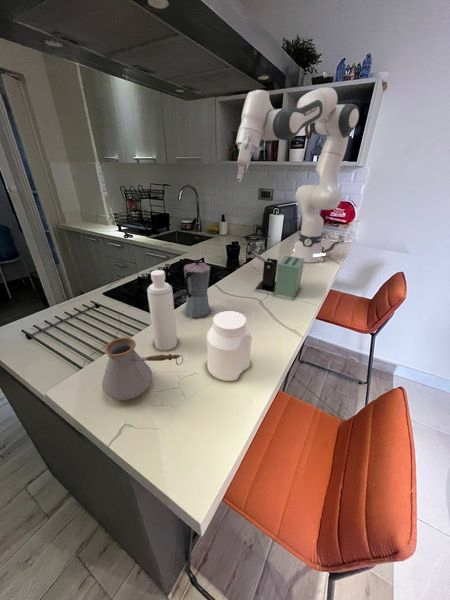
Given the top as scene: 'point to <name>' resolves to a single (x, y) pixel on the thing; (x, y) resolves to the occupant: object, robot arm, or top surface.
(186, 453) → the top surface
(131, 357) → the coffee pot
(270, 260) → the lever
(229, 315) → the jar
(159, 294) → the white bottle
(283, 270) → the toaster body
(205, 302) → the moka pot
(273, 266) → the lever bracket
